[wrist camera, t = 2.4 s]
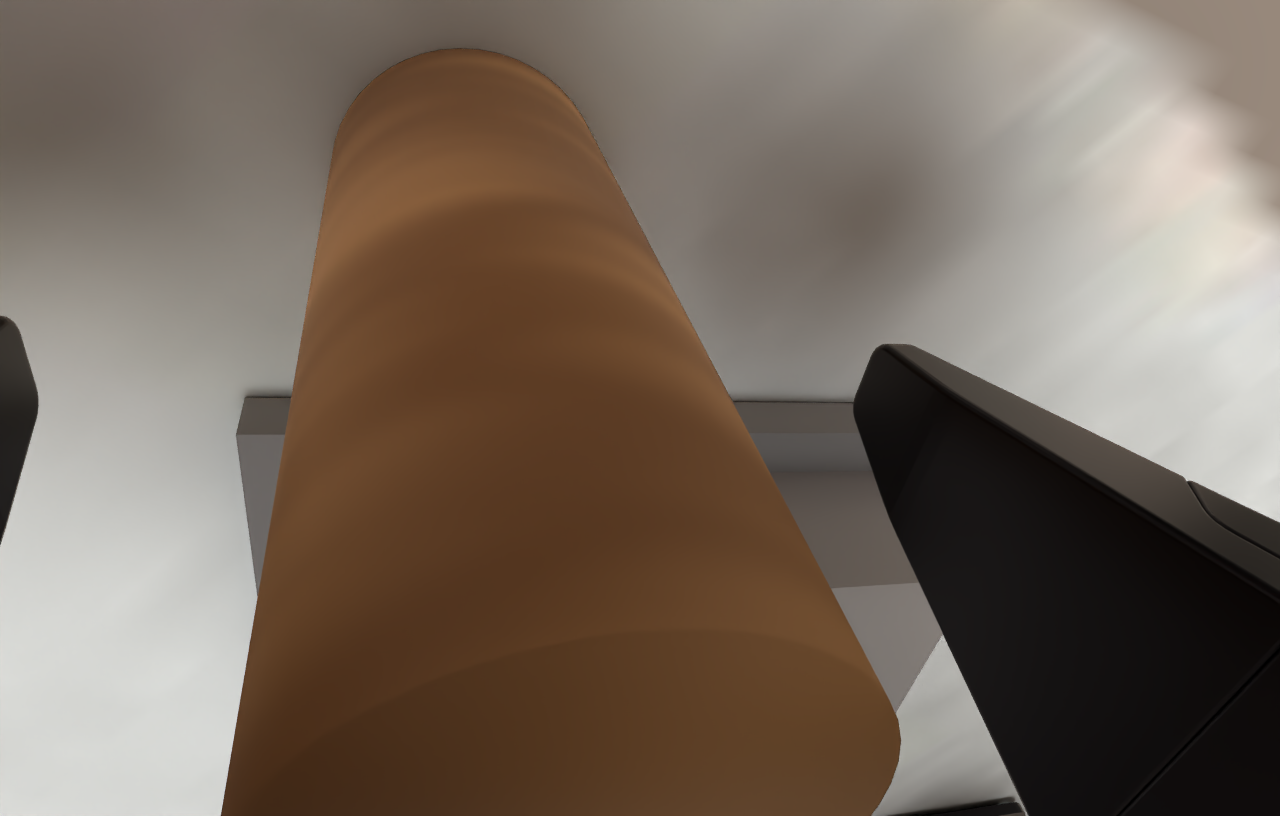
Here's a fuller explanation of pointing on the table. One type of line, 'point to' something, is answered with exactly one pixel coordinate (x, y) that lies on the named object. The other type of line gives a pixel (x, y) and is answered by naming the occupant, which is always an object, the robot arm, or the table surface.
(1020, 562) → the robot arm
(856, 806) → the peg
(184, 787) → the table surface
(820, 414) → the socket block
